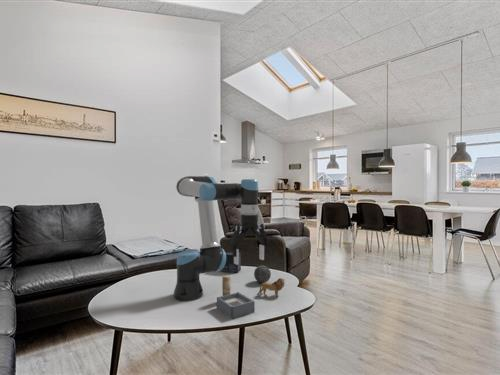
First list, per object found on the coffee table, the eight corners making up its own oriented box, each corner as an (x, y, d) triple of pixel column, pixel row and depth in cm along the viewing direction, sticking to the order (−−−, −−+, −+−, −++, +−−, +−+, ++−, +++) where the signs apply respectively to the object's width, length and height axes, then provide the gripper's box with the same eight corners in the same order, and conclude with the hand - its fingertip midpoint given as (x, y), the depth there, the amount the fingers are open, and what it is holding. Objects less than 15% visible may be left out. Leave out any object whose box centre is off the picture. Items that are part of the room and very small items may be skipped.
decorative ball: (256, 285, 170) (256, 268, 170) (252, 280, 180) (252, 264, 180) (273, 284, 172) (272, 267, 172) (268, 279, 182) (267, 263, 182)
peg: (221, 300, 148) (220, 276, 148) (228, 298, 150) (227, 275, 150) (225, 303, 145) (224, 278, 145) (232, 301, 147) (231, 277, 147)
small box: (241, 270, 202) (241, 253, 202) (238, 273, 195) (237, 255, 195) (223, 269, 205) (223, 252, 205) (219, 271, 199) (219, 254, 199)
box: (216, 307, 139) (216, 297, 139) (238, 302, 146) (238, 292, 146) (231, 318, 127) (231, 307, 127) (254, 312, 134) (254, 301, 134)
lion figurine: (283, 293, 158) (283, 276, 158) (285, 297, 152) (285, 279, 152) (256, 294, 157) (256, 277, 157) (257, 297, 152) (257, 280, 152)
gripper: (229, 216, 120) (229, 268, 120) (276, 213, 134) (276, 259, 134) (220, 214, 126) (220, 263, 127) (266, 211, 140) (266, 255, 141)
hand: (249, 261), depth 130 cm, fingers open, 13 cm apart
